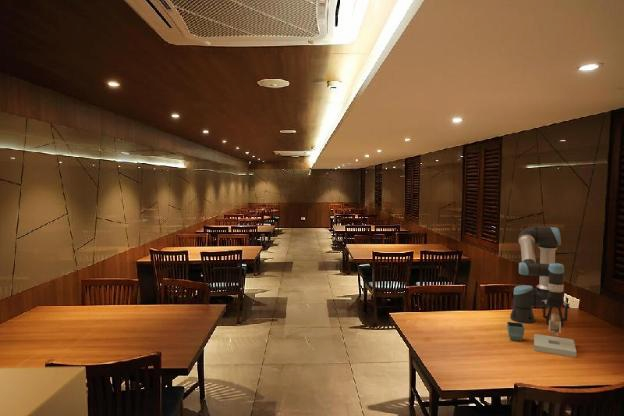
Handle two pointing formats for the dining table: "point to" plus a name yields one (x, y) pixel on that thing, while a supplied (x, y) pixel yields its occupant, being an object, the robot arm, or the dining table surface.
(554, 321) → the peg
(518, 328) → the flower pot
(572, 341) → the board
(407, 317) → the dining table surface
